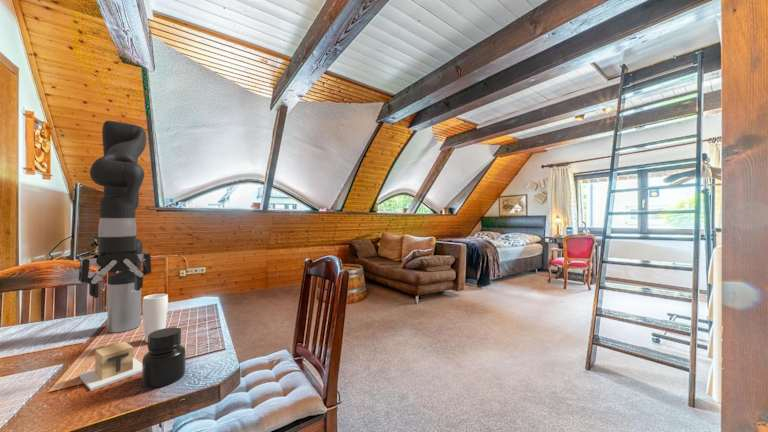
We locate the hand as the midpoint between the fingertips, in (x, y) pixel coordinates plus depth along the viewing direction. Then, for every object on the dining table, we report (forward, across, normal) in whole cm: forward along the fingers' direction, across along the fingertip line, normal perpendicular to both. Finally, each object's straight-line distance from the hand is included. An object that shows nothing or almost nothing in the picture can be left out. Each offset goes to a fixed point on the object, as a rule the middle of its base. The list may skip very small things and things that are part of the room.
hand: (117, 293), depth 77 cm
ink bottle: (+21, -5, +16) cm, 27 cm away
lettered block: (+20, +1, +2) cm, 20 cm away
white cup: (+21, -13, -13) cm, 28 cm away
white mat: (+21, +1, +2) cm, 21 cm away
